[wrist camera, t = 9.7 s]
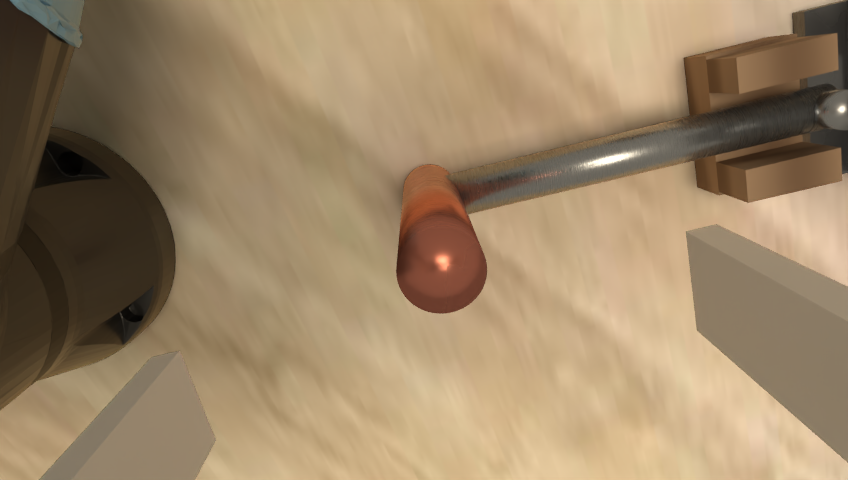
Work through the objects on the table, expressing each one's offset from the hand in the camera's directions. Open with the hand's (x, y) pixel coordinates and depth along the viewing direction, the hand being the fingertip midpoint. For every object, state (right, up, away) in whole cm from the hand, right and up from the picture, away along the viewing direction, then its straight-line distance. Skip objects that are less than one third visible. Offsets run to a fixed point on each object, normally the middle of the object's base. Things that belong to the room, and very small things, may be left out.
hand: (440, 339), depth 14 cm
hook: (+10, +8, +19) cm, 23 cm away
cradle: (+18, +10, +20) cm, 29 cm away
